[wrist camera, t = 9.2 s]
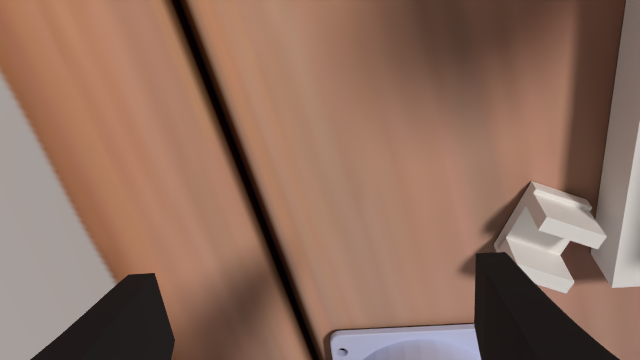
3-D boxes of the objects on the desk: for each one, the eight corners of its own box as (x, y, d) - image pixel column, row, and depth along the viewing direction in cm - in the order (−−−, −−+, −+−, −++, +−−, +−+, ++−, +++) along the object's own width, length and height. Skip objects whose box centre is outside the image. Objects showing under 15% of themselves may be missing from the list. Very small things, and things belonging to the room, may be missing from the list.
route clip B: (545, 261, 24) (563, 297, 22) (493, 244, 24) (506, 279, 22) (586, 199, 23) (610, 232, 21) (531, 181, 22) (549, 212, 20)
